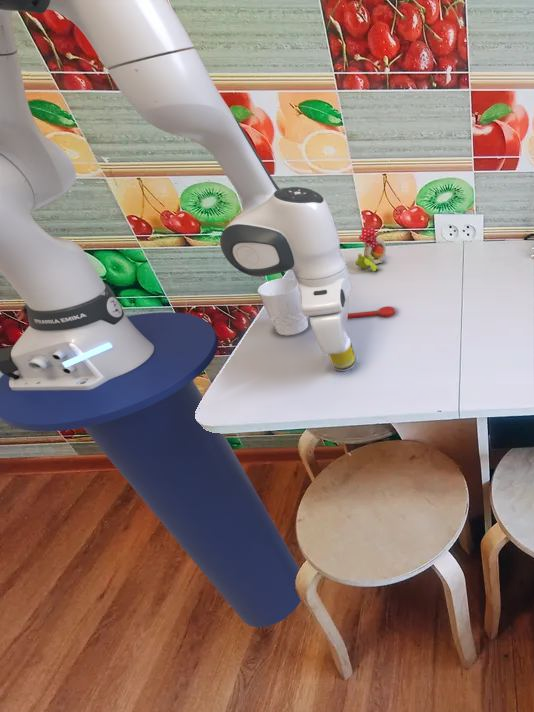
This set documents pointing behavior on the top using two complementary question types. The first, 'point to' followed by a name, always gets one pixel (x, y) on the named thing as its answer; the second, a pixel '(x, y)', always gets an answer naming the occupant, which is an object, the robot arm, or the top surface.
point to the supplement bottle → (343, 357)
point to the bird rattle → (371, 249)
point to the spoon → (374, 313)
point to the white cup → (284, 305)
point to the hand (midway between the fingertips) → (344, 346)
